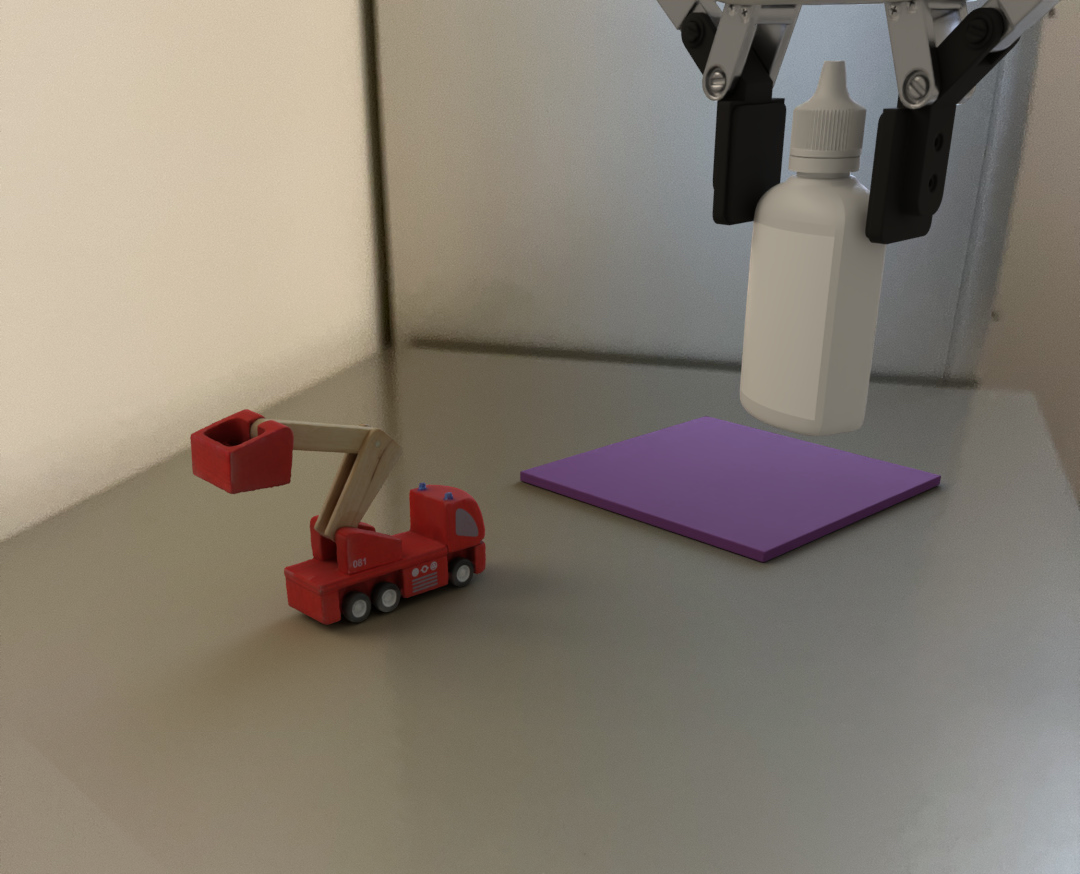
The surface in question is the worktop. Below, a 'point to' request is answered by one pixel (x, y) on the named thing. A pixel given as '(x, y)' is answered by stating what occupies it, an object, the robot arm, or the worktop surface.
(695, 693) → the worktop surface
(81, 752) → the worktop surface
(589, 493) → the purple square mat
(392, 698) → the worktop surface
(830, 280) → the eye dropper bottle
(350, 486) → the toy fire truck
